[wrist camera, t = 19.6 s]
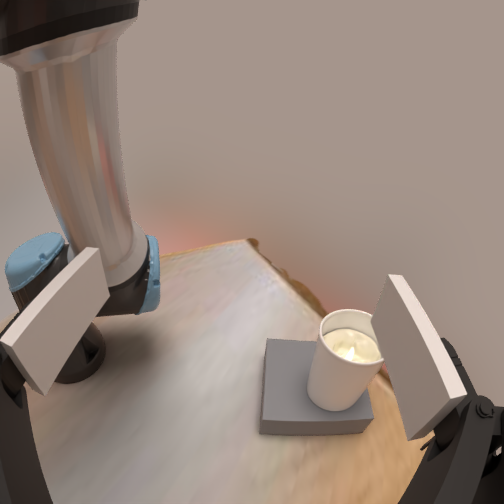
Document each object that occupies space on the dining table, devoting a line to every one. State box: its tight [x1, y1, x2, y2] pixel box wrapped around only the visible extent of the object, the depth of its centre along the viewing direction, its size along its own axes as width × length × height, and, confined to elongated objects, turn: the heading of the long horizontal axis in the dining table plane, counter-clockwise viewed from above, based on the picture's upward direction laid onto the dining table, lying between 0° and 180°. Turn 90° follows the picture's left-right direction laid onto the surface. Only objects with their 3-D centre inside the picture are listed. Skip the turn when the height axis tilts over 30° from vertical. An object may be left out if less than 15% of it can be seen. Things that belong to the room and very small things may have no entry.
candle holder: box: [307, 309, 384, 411], centre depth 34 cm, size 10×10×12 cm
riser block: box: [259, 338, 374, 435], centre depth 40 cm, size 16×16×5 cm
